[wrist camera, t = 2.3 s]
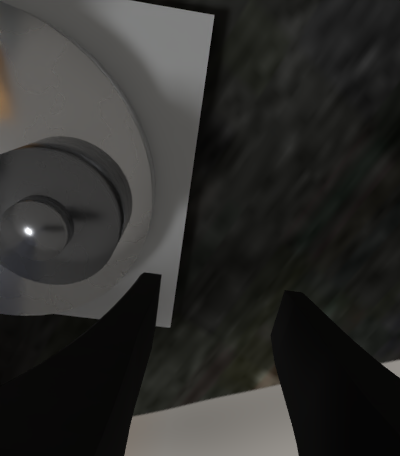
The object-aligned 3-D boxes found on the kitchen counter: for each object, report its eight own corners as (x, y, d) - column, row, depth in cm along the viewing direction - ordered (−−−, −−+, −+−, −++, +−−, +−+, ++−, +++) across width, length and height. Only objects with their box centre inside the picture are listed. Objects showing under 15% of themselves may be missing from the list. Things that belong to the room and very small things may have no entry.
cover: (129, 258, 19) (109, 305, 15) (15, 243, 19) (-35, 287, 15) (136, 146, 17) (114, 167, 13) (3, 126, 16) (-64, 141, 12)
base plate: (171, 320, 25) (170, 327, 24) (-126, 284, 23) (-137, 291, 23) (213, 17, 16) (214, 15, 16) (-242, -62, 15) (-264, -69, 14)
